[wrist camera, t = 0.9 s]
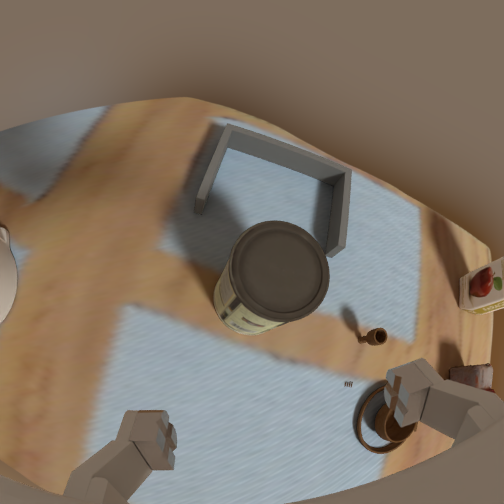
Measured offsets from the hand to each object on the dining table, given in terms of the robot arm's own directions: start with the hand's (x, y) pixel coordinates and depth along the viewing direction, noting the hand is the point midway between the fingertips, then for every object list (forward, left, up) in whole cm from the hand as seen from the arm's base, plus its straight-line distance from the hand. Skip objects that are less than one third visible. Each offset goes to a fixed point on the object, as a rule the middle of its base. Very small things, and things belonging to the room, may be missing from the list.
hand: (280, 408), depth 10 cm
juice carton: (+49, +24, -30) cm, 63 cm away
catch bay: (+3, +29, -30) cm, 42 cm away
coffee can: (+3, +12, -30) cm, 33 cm away
